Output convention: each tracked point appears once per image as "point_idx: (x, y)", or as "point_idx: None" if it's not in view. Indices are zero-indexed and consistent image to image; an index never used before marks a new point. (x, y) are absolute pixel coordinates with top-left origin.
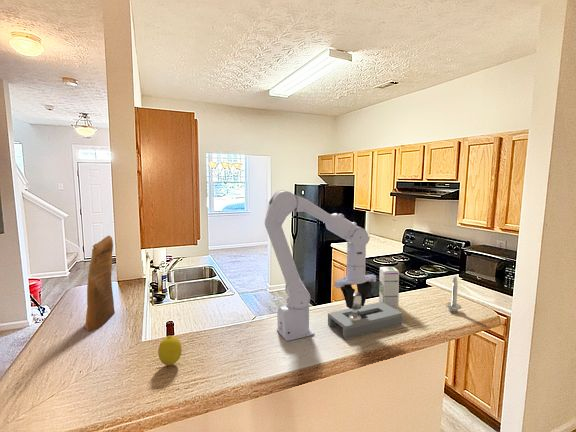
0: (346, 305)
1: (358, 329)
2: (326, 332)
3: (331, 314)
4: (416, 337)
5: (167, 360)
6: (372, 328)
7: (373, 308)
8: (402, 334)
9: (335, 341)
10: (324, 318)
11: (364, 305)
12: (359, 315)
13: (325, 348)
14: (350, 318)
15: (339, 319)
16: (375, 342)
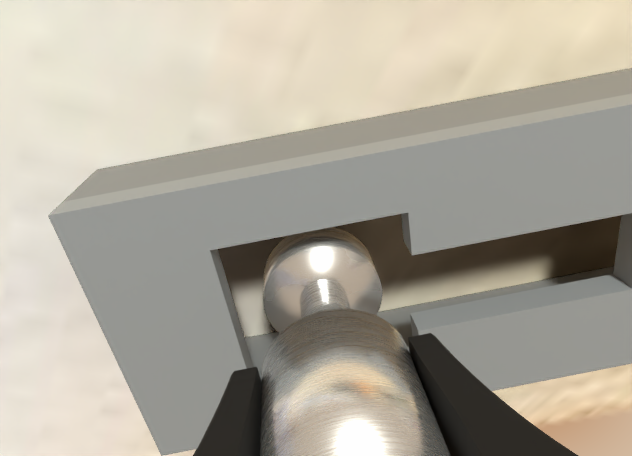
0: (228, 383)
1: None
2: (61, 279)
3: (84, 254)
4: (591, 415)
5: None
6: None
7: (591, 215)
8: (549, 381)
9: (104, 386)
10: (88, 23)
11: (563, 118)
12: (378, 285)
13: (23, 436)
14: (268, 318)
15: (143, 357)
16: None
